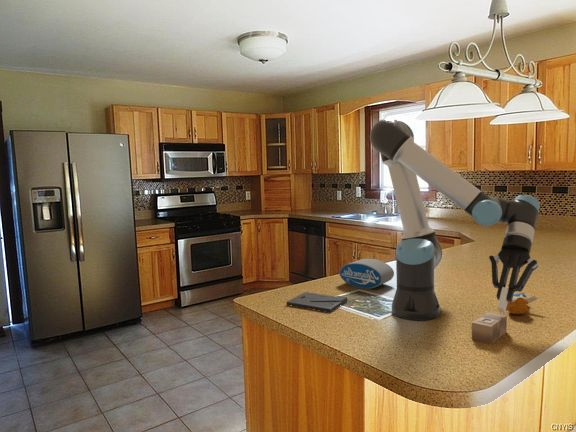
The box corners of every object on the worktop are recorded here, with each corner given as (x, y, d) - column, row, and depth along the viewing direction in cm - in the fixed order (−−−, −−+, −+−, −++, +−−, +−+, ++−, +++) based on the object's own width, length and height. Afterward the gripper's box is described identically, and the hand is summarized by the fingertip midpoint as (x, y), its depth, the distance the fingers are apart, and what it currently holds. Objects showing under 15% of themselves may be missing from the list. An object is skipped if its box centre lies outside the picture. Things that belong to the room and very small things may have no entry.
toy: (534, 285, 136) (533, 293, 124) (542, 303, 135) (541, 312, 123) (497, 294, 142) (492, 302, 130) (503, 311, 141) (499, 321, 128)
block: (488, 311, 119) (471, 321, 112) (506, 314, 115) (491, 325, 108) (488, 328, 119) (471, 340, 112) (506, 332, 116) (490, 345, 108)
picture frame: (347, 303, 149) (305, 296, 159) (347, 297, 149) (305, 291, 158) (330, 314, 138) (286, 307, 148) (330, 308, 138) (286, 301, 147)
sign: (394, 285, 166) (393, 261, 165) (382, 291, 159) (381, 266, 158) (352, 279, 179) (352, 256, 178) (339, 284, 172) (338, 260, 171)
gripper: (544, 249, 122) (530, 321, 112) (497, 245, 131) (479, 311, 121) (540, 235, 118) (525, 308, 108) (492, 231, 126) (473, 299, 116)
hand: (501, 310), depth 114 cm, fingers closed
